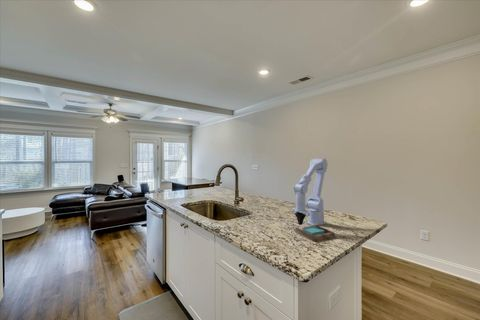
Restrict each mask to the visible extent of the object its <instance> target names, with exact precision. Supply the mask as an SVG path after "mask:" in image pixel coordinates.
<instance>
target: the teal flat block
mask: <svg viewBox="0 0 480 320" xmlns="http://www.w3.org/2000/svg"><path fill="white" fill-rule="evenodd" d="M301 230H303V231H305V232H307V233H309V234H311V235H313V236H315V235H320V234H325V231H324V230H322V229H319V228H317V227H316V225H311V224H309V225H304V226H302V229H301Z"/></svg>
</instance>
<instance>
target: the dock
mask: <svg viewBox="0 0 480 320" xmlns="http://www.w3.org/2000/svg"><path fill="white" fill-rule="evenodd" d="M316 227H317V228H319V229H322V230H324V231H325V234H320V235H315V236H313V235H311V234H309V233H307V232H305V231H303V230H302V229H301V228H298V227H295V229H294V232H295V233H296V234H298V235H301V236H302V237H304V238H306V239H308V240H310V241H312V242H319V241H322V240H323V241H324V240H327V239H332V238H335V235H336V234H335V232H334V231H332V230H329V229H326V228H325V227H321V226H320V225H316Z"/></svg>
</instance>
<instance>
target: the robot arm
mask: <svg viewBox="0 0 480 320" xmlns="http://www.w3.org/2000/svg"><path fill="white" fill-rule="evenodd" d="M328 165H329V164H328V161H327V159H326V158H311V159H310V161H309V167H308V169H307V171H306V173H305V174H303V175H302V177H300V180H299V181H298V182H297V183H296V184H295V185H294V187H293V191H294V195H295V207H293V206H292V207H291V211H292V212H294V215H295V217H296V219H297V223H298V225H299V226H302V225H303V224H304V220H305V218H306V217H308V221H307V220H306V221H305V223H306V224H309V225H317V226H323V225H325V224H326V223H325V214H324V211H323V209H324V199H323V198H322V197H321V194H322V189H323V183H324V179H325V174H326V172H327V169H328ZM314 173H316V174H315V179H314V183H313V190H312V194H311V195H310V196H308V198H307V200H306V194H307V192H308V190H309V189H308V188H309V185H310V183H311V181H312V176H313V174H314ZM306 208H307V210H308V211H307V210H306Z"/></svg>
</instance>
